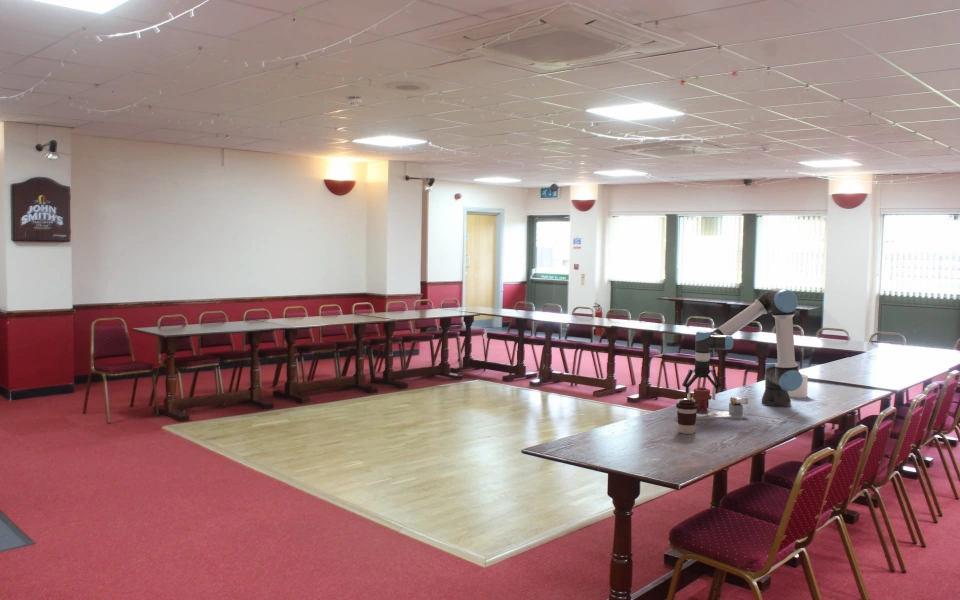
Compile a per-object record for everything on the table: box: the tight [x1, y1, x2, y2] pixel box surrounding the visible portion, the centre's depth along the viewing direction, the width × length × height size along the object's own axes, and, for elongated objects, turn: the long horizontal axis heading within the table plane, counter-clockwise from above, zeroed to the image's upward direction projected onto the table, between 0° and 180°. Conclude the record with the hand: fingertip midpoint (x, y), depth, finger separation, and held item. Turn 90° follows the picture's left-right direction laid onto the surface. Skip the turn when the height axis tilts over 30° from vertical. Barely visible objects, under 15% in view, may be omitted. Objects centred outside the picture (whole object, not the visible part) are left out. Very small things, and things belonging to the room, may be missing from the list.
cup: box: [788, 373, 809, 399], centre depth 440 cm, size 12×12×12 cm
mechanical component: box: [691, 386, 712, 412], centre depth 403 cm, size 12×10×10 cm
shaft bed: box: [676, 396, 749, 420], centre depth 389 cm, size 36×12×10 cm, turn 92°
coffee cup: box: [675, 400, 698, 435], centre depth 355 cm, size 10×10×15 cm
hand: (701, 399), depth 403 cm, fingers open, 13 cm apart
